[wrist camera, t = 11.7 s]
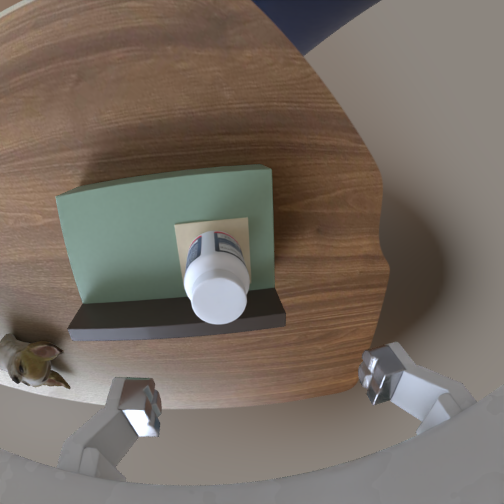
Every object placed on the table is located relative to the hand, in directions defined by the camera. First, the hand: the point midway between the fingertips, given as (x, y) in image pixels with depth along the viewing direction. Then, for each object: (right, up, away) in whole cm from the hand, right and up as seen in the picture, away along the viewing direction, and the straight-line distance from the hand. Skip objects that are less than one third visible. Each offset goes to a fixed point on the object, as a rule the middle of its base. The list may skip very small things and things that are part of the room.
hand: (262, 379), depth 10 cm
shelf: (-10, +7, +23) cm, 26 cm away
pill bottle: (-4, +5, +18) cm, 19 cm away
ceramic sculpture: (-38, -12, +27) cm, 48 cm away
